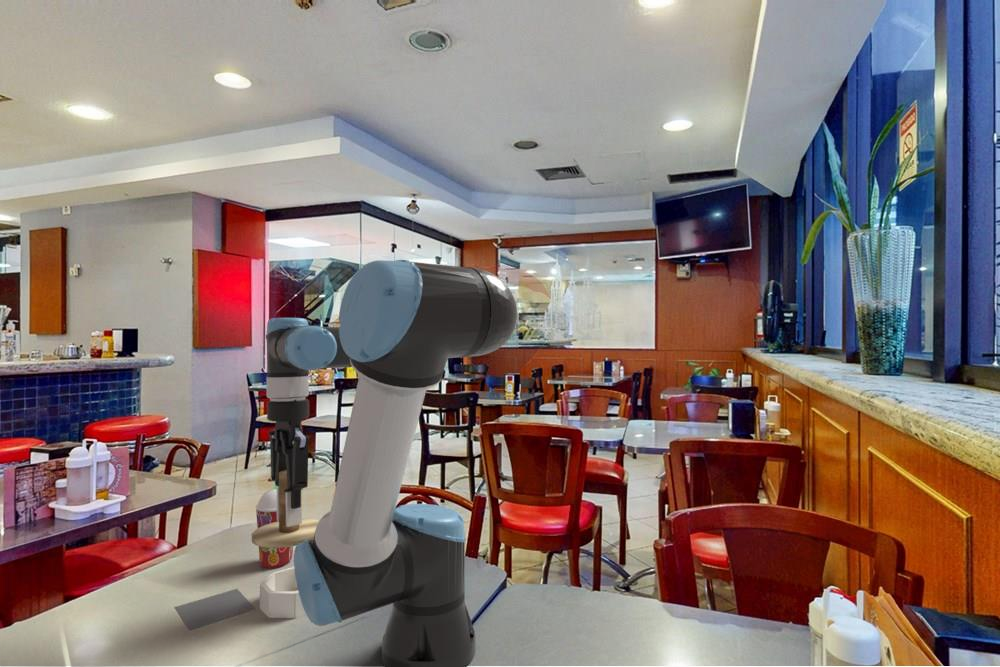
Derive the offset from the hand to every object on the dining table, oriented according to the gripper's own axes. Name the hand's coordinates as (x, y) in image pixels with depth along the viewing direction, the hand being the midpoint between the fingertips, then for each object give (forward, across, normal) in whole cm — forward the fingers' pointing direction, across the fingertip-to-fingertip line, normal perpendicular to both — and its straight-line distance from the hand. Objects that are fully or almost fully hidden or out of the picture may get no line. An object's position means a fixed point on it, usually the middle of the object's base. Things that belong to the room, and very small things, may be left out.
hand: (289, 522), depth 103 cm
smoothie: (+16, +21, -6) cm, 27 cm away
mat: (+16, +8, +11) cm, 21 cm away
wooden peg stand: (+2, 0, 0) cm, 2 cm away
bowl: (+16, 0, -1) cm, 16 cm away
